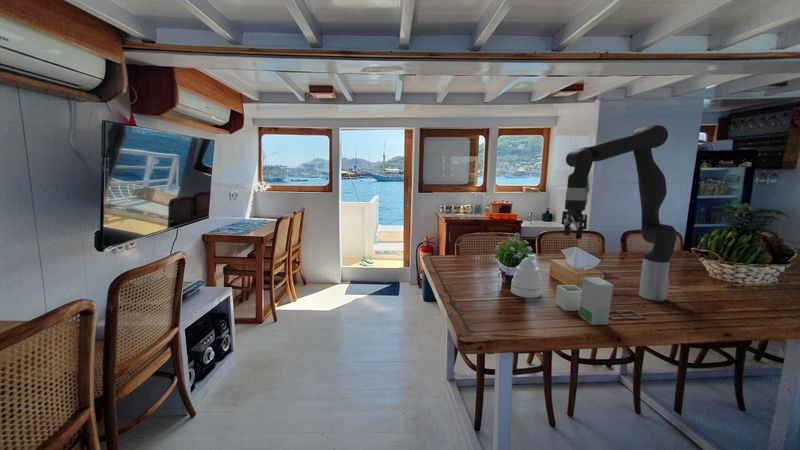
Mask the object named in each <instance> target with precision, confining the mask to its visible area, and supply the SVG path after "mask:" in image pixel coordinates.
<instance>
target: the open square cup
mask: <svg viewBox="0 0 800 450" xmlns="http://www.w3.org/2000/svg"><path fill="white" fill-rule="evenodd" d="M566 287H571V288H573V289H574V290H575V291H566V290H565V288H566ZM555 289H556V290H555V301H554V302H555V305H557V306H558V307H560V308H561V309H562V310H564V311H565V312H568V311H569V312H572V311H575V312H576V311H577V312H579V309H580V301H581V294H582V288H580V287H578V286H577V285H575V284H564V285H563V284H557V285H556V288H555Z"/></svg>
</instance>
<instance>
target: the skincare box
mask: <svg viewBox="0 0 800 450" xmlns="http://www.w3.org/2000/svg"><path fill="white" fill-rule="evenodd" d="M581 287H582V288H581V289H582V294H581V301H580V309H579V311H578V316H579V317H581V319H583V320H585V321H586V322H588V323H589V324H590V325H591V326H599V325H603V326H604V325H605V326H606V325H608V324H609V319H610V318H609V315H610V313H609V312H610V310H611V304H612V297H613V290H614V284H612V283H610V282H608V281H607V280H605V279H602V278H600V277H597V276H596V277H592V276H591V277H583V279H582V286H581Z"/></svg>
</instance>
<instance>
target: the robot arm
mask: <svg viewBox="0 0 800 450" xmlns="http://www.w3.org/2000/svg"><path fill="white" fill-rule="evenodd" d="M668 138H669V132H668V129H667V128H666V127H665V126H663V125H660V124H652V125H646V126H641V127H637V128H636V129H634V131H633V132H632V133H631V135H628V136H625V137H618V138H614V139H610V140H607V141H604V142H603V141H602V142H599V143H596V144H594V145H590V146H586V147H581V148H578V149H572V150H571V151H569V152H568V153H567V155H566V157H565V163H566V164H567V165H568V166H569V167H570V168H574V169H573V172H572V173H570V174H568V176H567V183H566V184H567V185H566V187H567V188H566V191H565V200H564V201H565V202H564V210H563V211H562V216H561V225H563V227H564V229H563V235H564V236H570V233H571V227H572V226H571V225H572V224H573V226H575V235H574V236H575V237H574V238H575V240H581V239H582V237H583V231H584V230H587V227H588V225H587V224H588V215H587V214H584V213H583V211H585V210H586V206H587V205H586V204H587V202H586V201H587V194H588V193H587V185H588V177H589V174H590V171H591V169H592V167H593V162H595V163H596V162H601V161H605V160H607V159H611V158H615V157H618V156H620V155H623V154H627V153H630V152H632V153H633V156H634V160H635V166H636V173H637V178H638V179H637V181H638V191H639V192H638V193H639V198H640V207H641V208H640V209H641V236H642V239H643V241H645V242H647V243H649V244H652V245H653V248H652V249H651V250H649V251H645V252H643V257H642V258H643V259H642V268H641V275H640V282H639V289H638V290H639V291H638V296H639V297H640V296H641V298H643V299H646V300H648V301H649V300H650V301H654V302H655V301H656V302H661V301H662V302H663V301H665V300H668V295H669V294H668V293H669V287H670V281H671V280H670V278H669V272H670V271H669V269H670V262H671V258H672V257H673V255H674V253H675V252H674V251H675V247H676V242H677V231H676V228H675V227H674V226H672V225H669V224H666V223H665V224H664V223H660V222H661V221H660V213H659V212H660V209H661V206H662V205H663V203H664V201H665V199H666V197H667V193H668V190H667V181H666V180H667V179H666V177H665V174H664V173H663V171H662V170H661V169H660V167H659V166H658V164H657V163H656V162H655V159H654V157H653V151H652V149H656V148H659V147H661V146H663V145H664V144H665V143H666V142H667V140H668Z"/></svg>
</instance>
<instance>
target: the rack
mask: <svg viewBox="0 0 800 450" xmlns="http://www.w3.org/2000/svg"><path fill="white" fill-rule="evenodd" d="M611 313H612V314H613V313H616V314H618V315H620V316H621V317H620V316H618V317H617V316H615V317H613V316H612V315H610V314H611ZM624 313H631V314H633V315H635V316H627V315H625V314H624ZM609 319H610V320H611V321H616V320H617V321H619V320H622V321H623V320H625V321H626V320H629V321H630V320H646V317H645V316H644V315H641V314H640V313H637V312H636V311H634V310H632V309H625V310H624V309H622V310H620V309H617V310H615V309H613V310H611V309H610V312H609Z"/></svg>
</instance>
